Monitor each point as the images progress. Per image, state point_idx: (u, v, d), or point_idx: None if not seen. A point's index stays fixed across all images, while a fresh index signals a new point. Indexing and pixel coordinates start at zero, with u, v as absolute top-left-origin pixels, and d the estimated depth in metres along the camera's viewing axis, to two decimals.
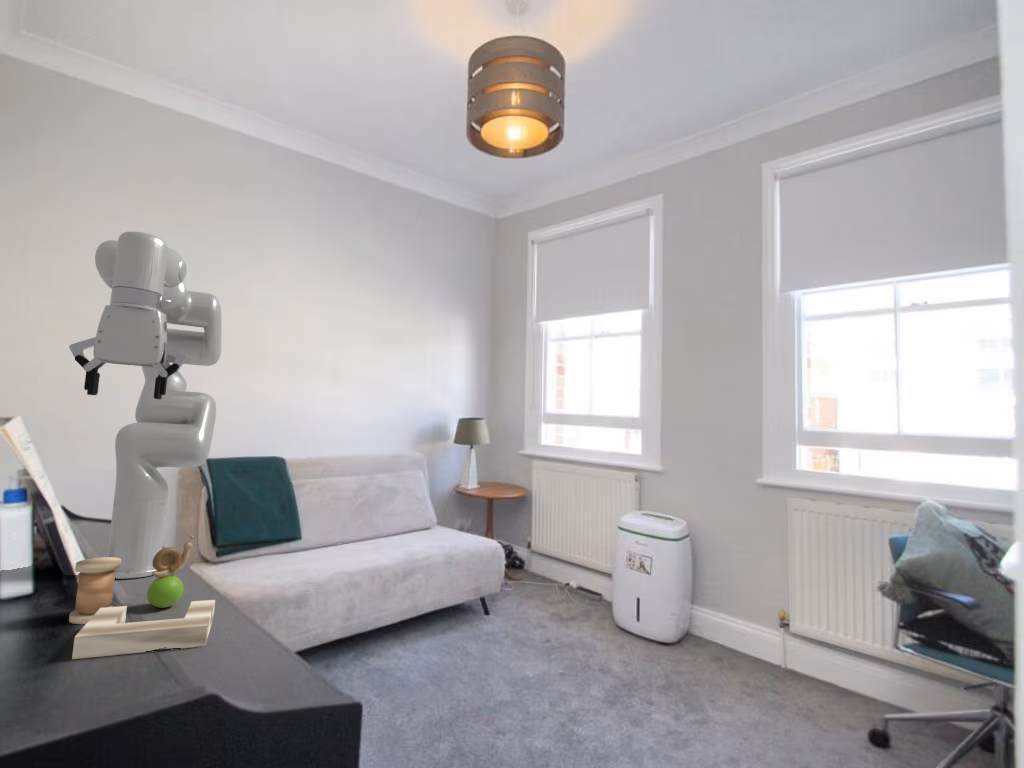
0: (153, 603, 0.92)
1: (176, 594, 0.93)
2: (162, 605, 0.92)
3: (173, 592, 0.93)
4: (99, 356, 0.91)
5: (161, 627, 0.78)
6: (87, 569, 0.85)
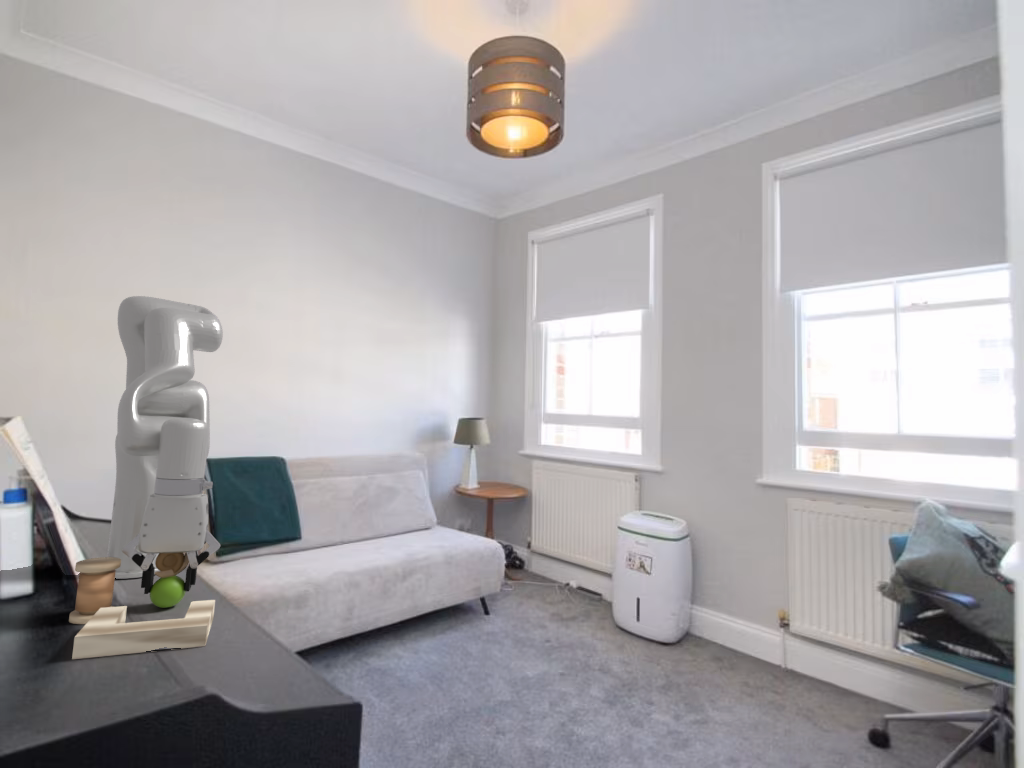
0: (156, 603, 0.92)
1: (178, 594, 0.93)
2: (165, 605, 0.92)
3: (175, 592, 0.93)
4: (144, 550, 0.92)
5: (161, 627, 0.78)
6: (87, 569, 0.85)
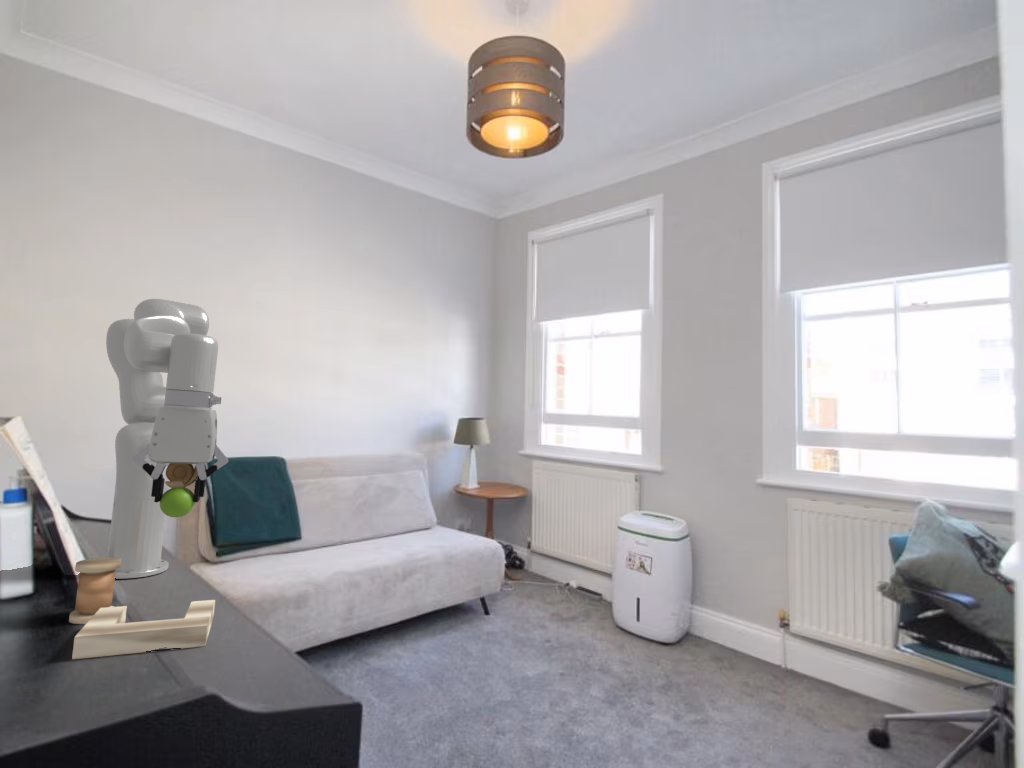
0: (166, 511, 0.93)
1: (188, 504, 0.95)
2: (175, 514, 0.94)
3: (185, 501, 0.94)
4: (154, 458, 0.93)
5: (161, 627, 0.78)
6: (87, 569, 0.85)
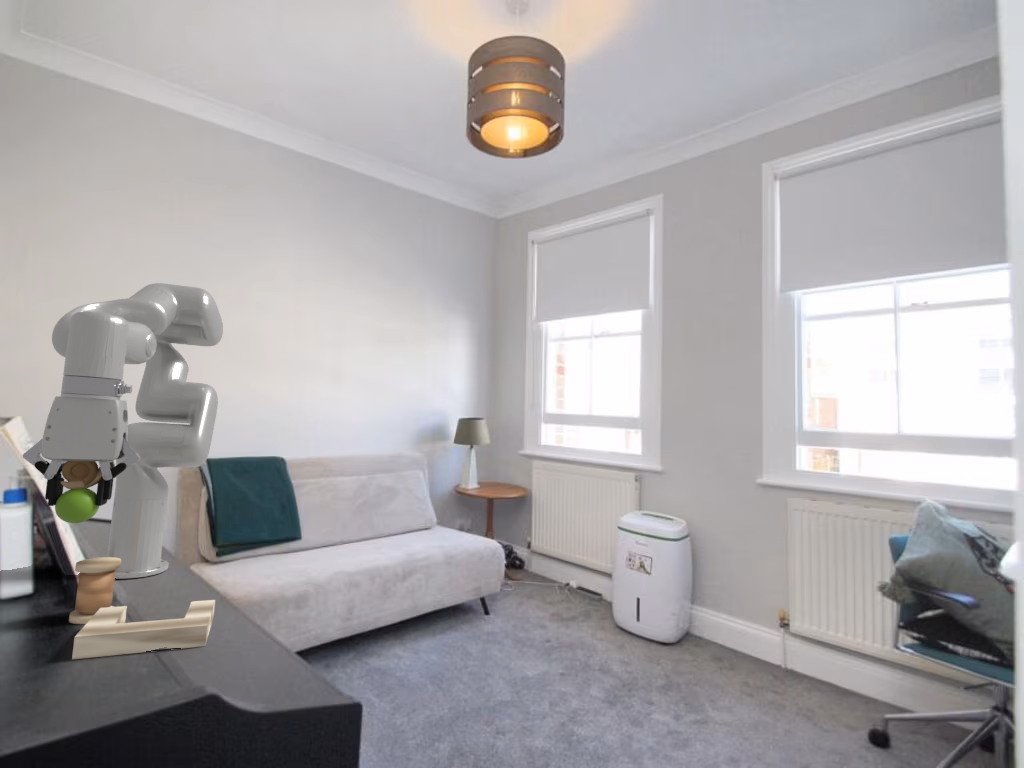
0: (61, 516, 0.81)
1: (88, 507, 0.82)
2: (72, 519, 0.81)
3: (84, 505, 0.82)
4: (47, 455, 0.81)
5: (161, 627, 0.78)
6: (87, 569, 0.85)
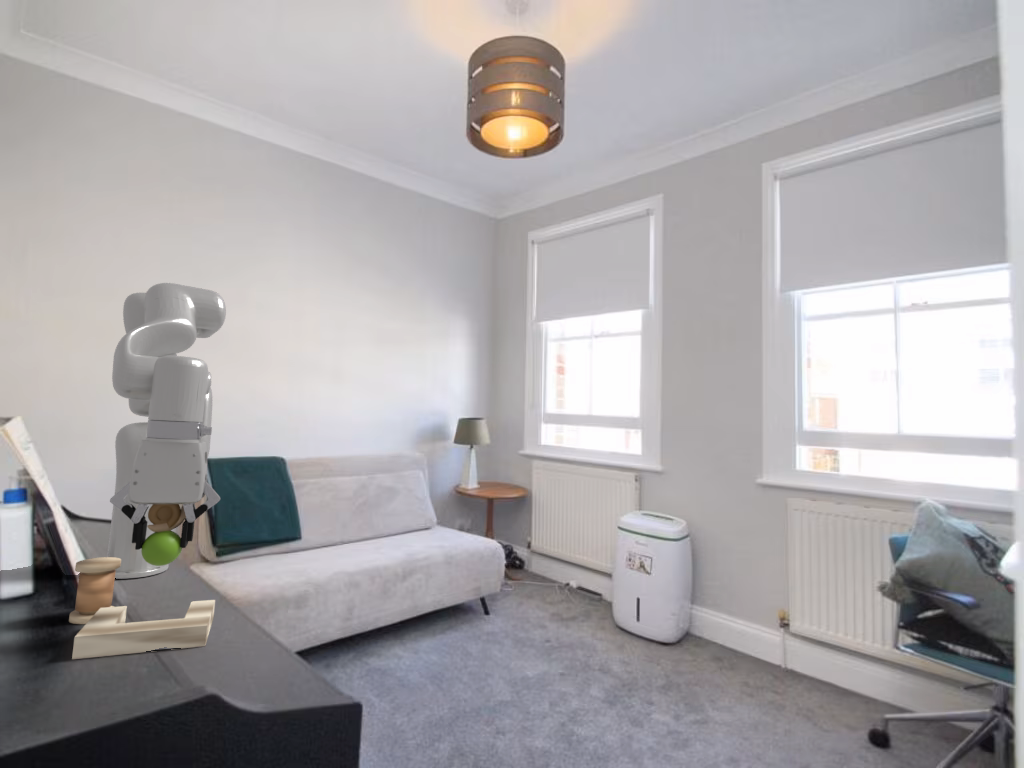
0: (148, 560, 0.82)
1: (174, 550, 0.83)
2: (159, 562, 0.82)
3: (170, 548, 0.83)
4: (135, 499, 0.81)
5: (161, 627, 0.78)
6: (87, 569, 0.85)
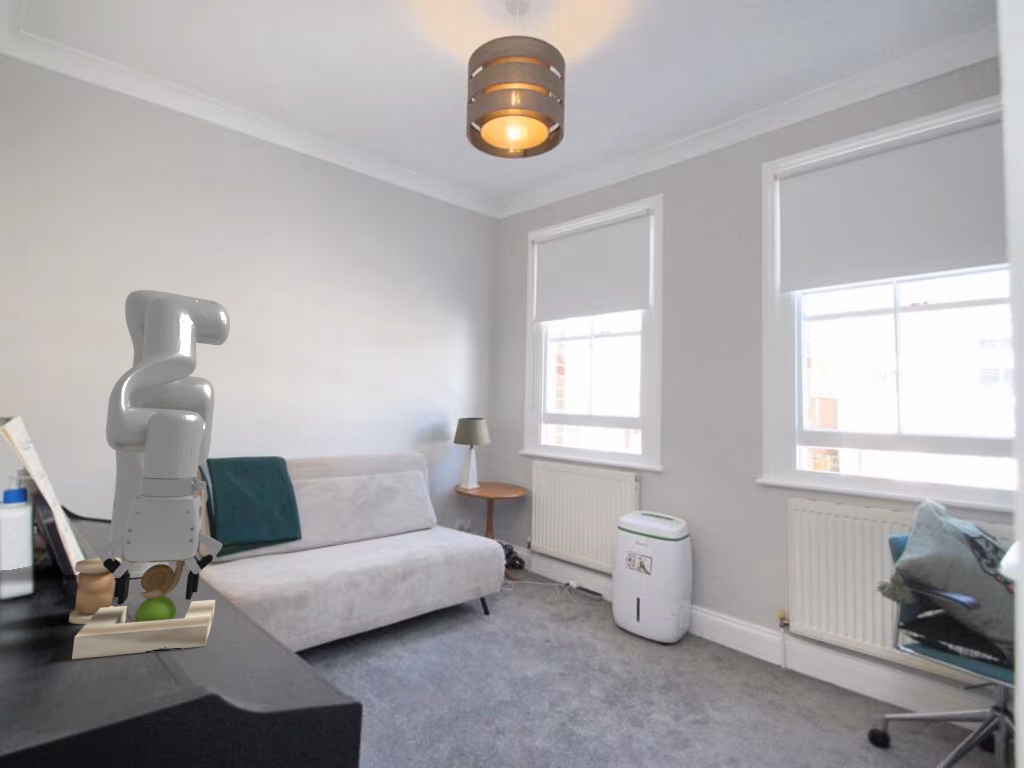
0: None
1: (168, 617, 0.83)
2: None
3: (164, 615, 0.82)
4: (128, 559, 0.81)
5: (161, 627, 0.78)
6: (87, 569, 0.85)
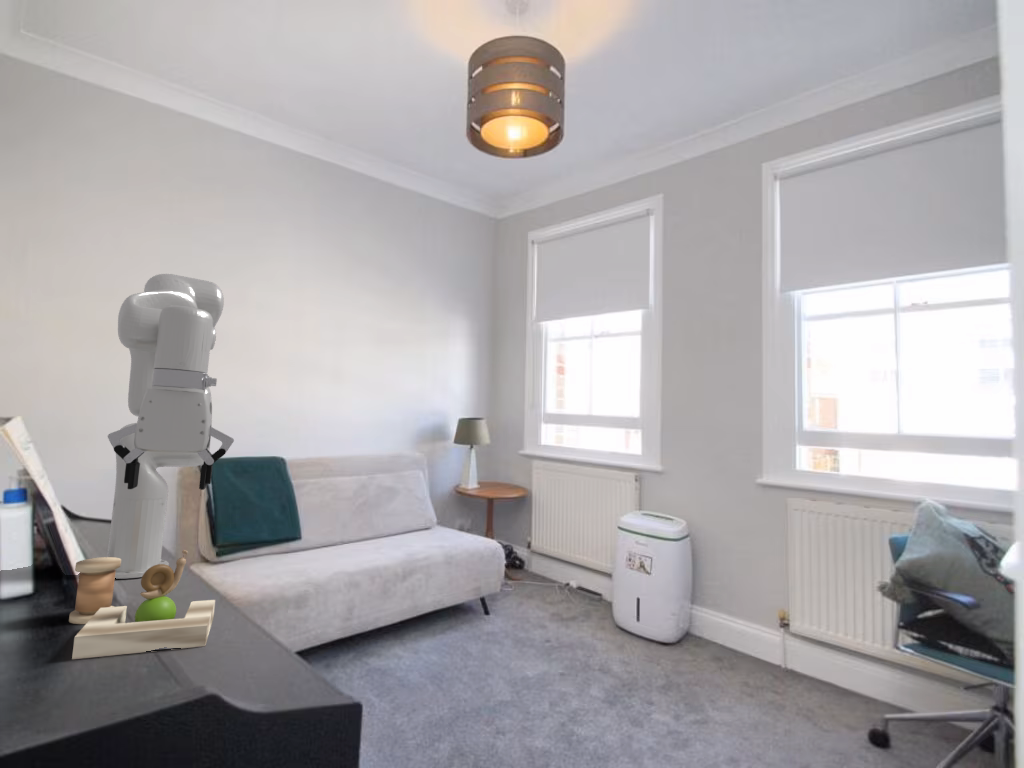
0: None
1: (168, 617, 0.83)
2: None
3: (164, 615, 0.82)
4: (141, 446, 0.82)
5: (161, 627, 0.78)
6: (87, 569, 0.85)
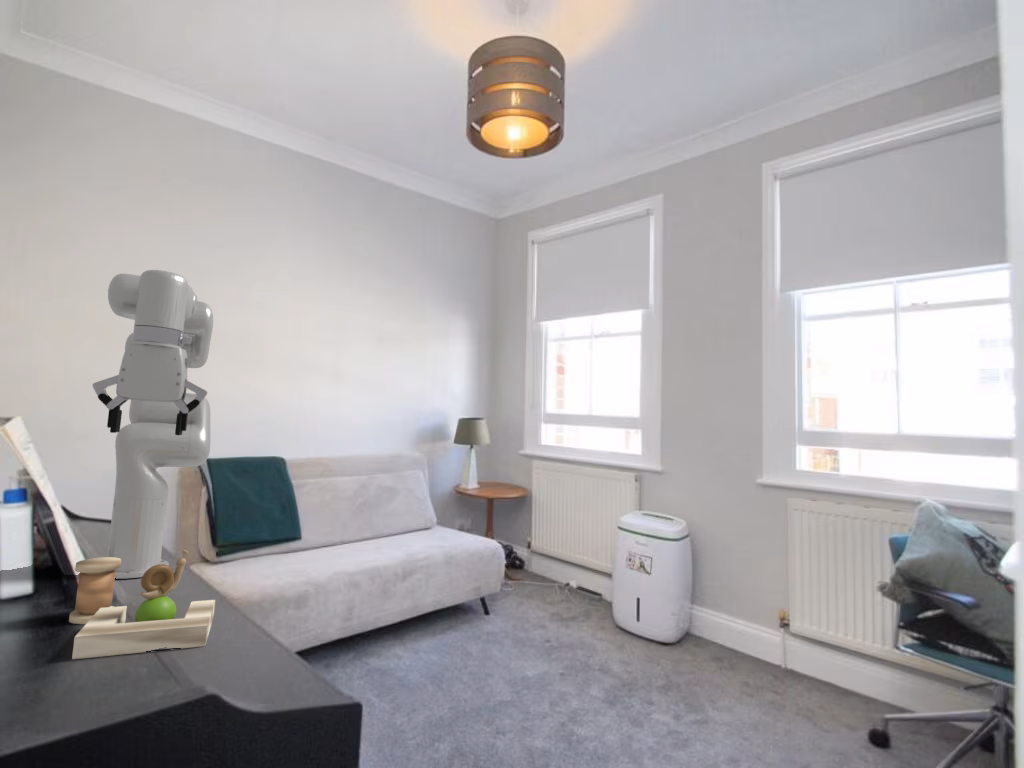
0: None
1: (167, 617, 0.82)
2: None
3: (164, 615, 0.82)
4: (122, 394, 0.92)
5: (161, 627, 0.78)
6: (87, 569, 0.85)
